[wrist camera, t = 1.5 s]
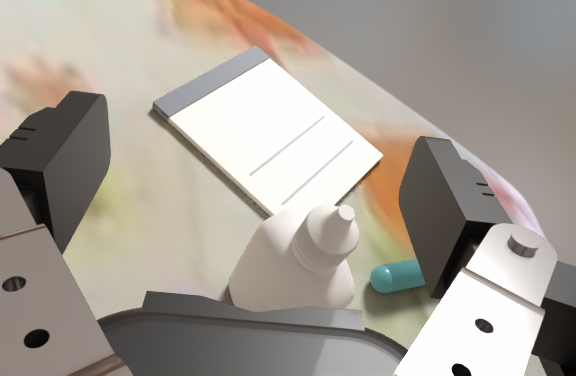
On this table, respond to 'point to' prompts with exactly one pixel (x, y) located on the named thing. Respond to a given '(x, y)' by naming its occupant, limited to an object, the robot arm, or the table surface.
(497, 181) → the table surface
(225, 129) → the notepad
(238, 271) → the white tapered bottle shape
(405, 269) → the marker
